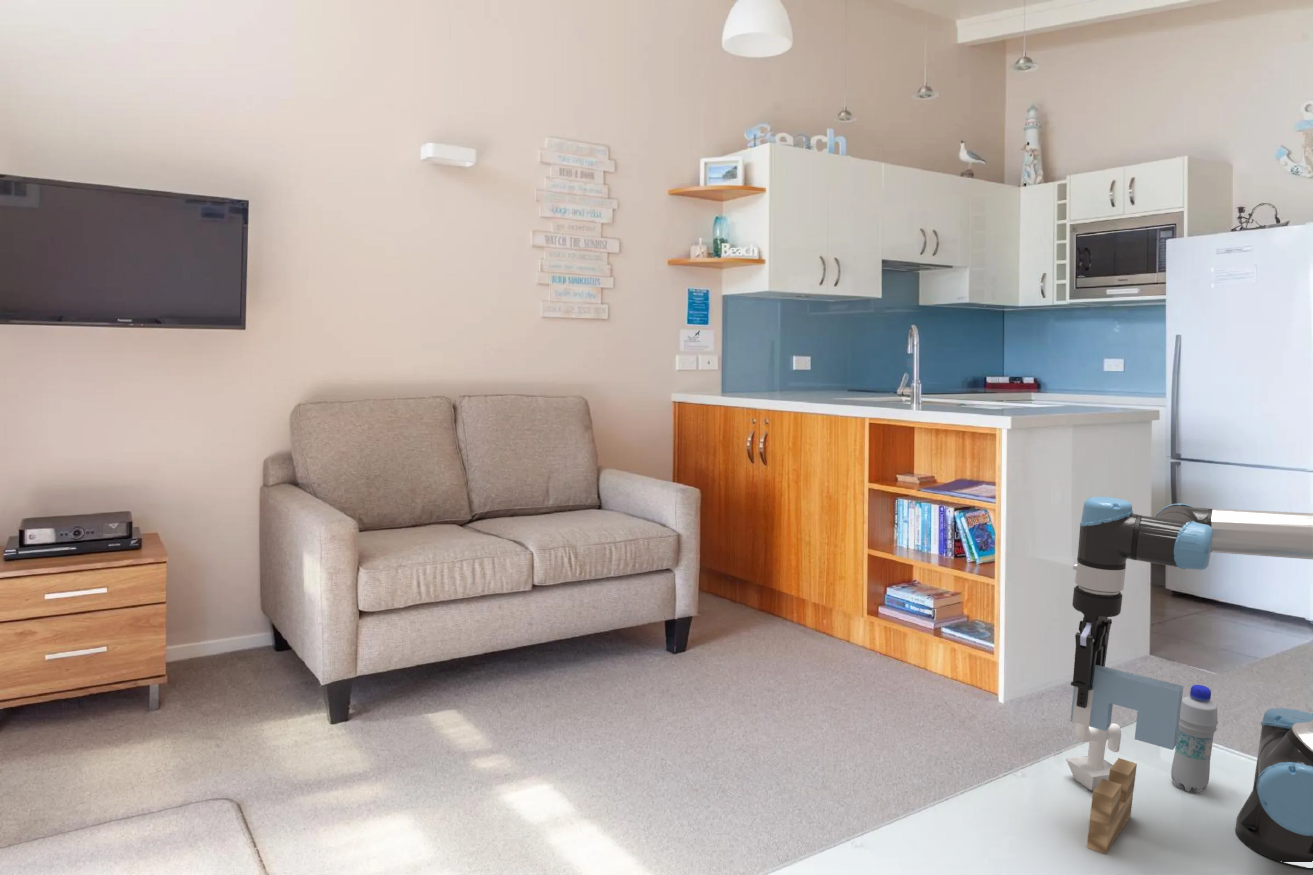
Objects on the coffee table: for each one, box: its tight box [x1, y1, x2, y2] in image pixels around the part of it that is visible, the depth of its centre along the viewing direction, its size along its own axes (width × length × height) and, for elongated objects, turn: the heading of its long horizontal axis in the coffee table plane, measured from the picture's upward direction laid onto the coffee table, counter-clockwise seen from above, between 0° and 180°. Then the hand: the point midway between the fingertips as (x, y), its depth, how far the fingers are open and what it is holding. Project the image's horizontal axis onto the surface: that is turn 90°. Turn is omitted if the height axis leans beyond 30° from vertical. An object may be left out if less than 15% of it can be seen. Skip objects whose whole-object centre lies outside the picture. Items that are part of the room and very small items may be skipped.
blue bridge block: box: [1070, 665, 1184, 751], centre depth 164 cm, size 16×3×10 cm, turn 51°
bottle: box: [1170, 684, 1218, 793], centre depth 184 cm, size 7×7×20 cm
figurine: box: [1065, 722, 1122, 792], centre depth 183 cm, size 7×9×15 cm
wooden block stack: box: [1086, 757, 1138, 855], centre depth 167 cm, size 3×16×10 cm, turn 141°
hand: (1084, 719), depth 169 cm, fingers closed on blue bridge block, 3 cm apart
